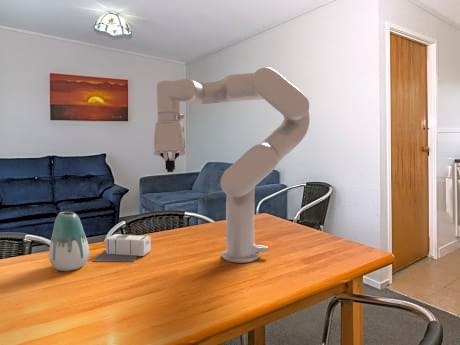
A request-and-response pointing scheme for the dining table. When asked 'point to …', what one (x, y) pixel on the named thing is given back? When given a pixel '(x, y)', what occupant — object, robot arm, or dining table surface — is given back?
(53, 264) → the vase
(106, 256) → the mat
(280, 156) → the robot arm
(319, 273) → the dining table surface
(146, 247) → the syrup box
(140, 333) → the dining table surface
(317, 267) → the dining table surface
